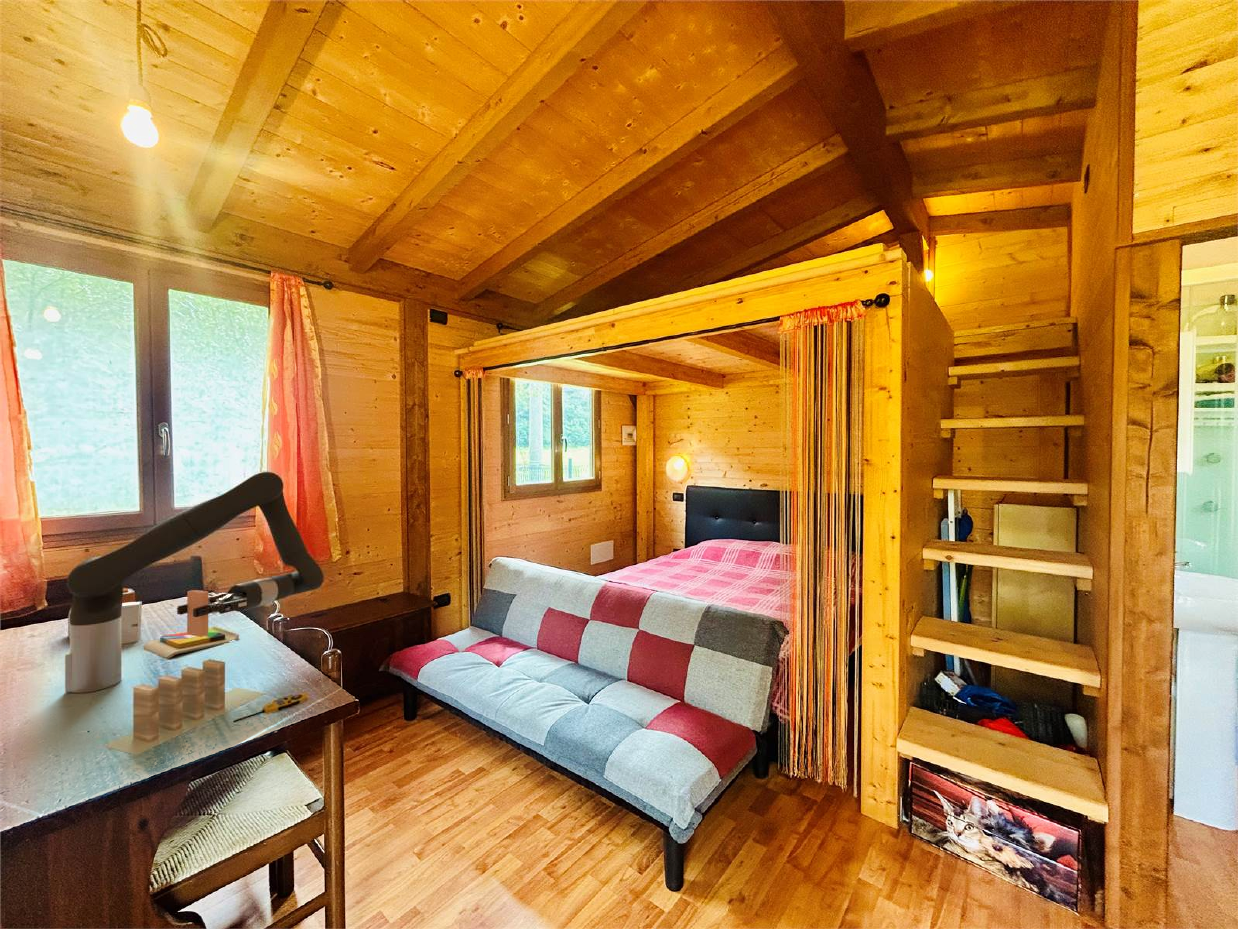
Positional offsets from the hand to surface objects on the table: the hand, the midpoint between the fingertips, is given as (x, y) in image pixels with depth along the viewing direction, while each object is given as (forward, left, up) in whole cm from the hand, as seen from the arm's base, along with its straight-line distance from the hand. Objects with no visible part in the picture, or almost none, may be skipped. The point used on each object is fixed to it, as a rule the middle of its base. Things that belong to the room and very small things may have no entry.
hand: (186, 611), depth 123 cm
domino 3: (+1, +2, -7) cm, 7 cm away
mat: (+6, -12, -22) cm, 26 cm away
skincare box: (-35, +50, -22) cm, 65 cm away
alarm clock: (-47, +62, -22) cm, 81 cm away
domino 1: (+1, -19, -21) cm, 29 cm away
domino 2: (+3, -16, -21) cm, 27 cm away
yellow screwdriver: (+22, -13, -22) cm, 34 cm away
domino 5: (+9, -9, -21) cm, 24 cm away
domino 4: (+6, -12, -21) cm, 25 cm away
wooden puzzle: (-15, +42, -22) cm, 50 cm away
